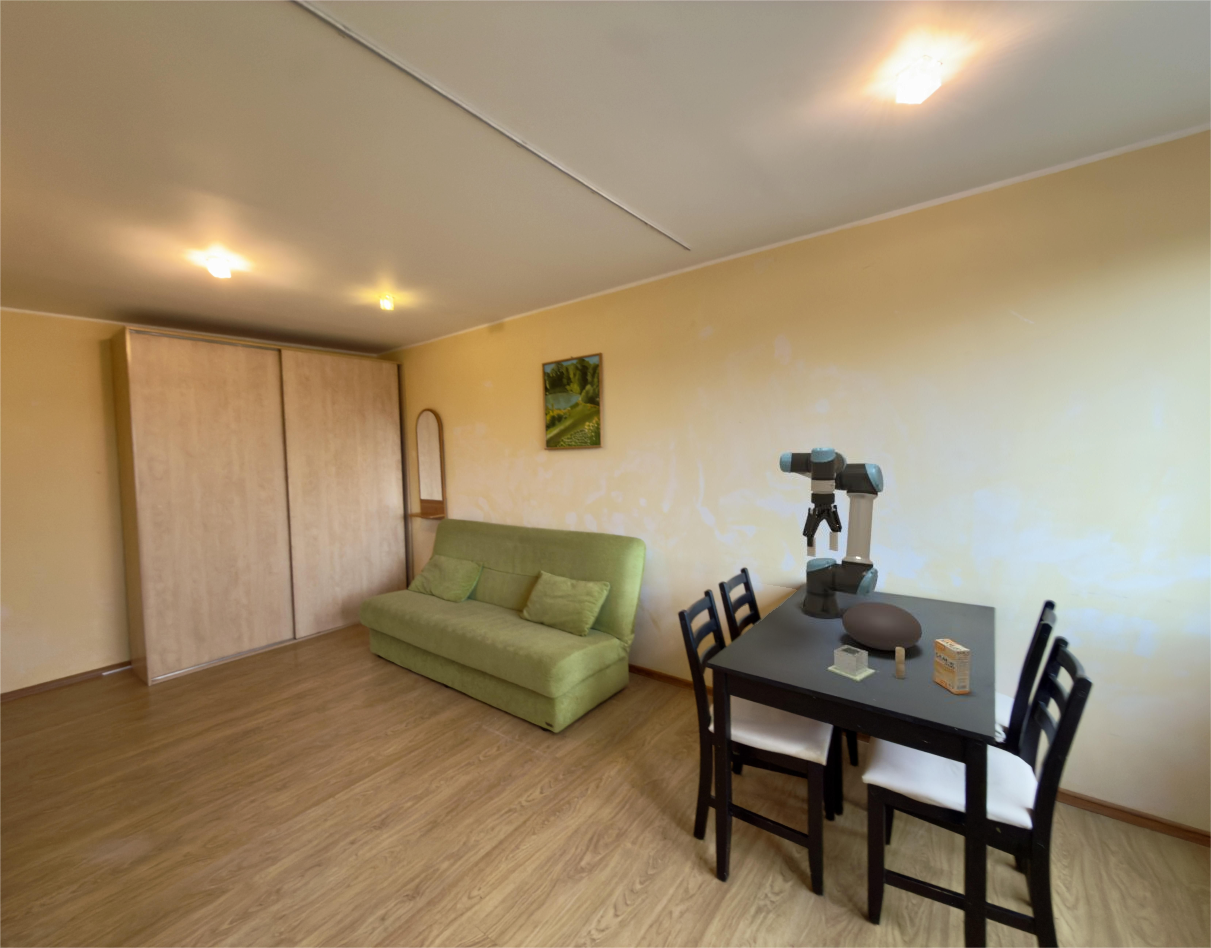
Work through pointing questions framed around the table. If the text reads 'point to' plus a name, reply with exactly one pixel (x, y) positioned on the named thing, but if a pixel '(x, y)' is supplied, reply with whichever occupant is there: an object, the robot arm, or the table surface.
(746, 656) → the table surface
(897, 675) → the dowel
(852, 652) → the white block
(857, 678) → the mat
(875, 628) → the flattened ellipsoid
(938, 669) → the supplement box
